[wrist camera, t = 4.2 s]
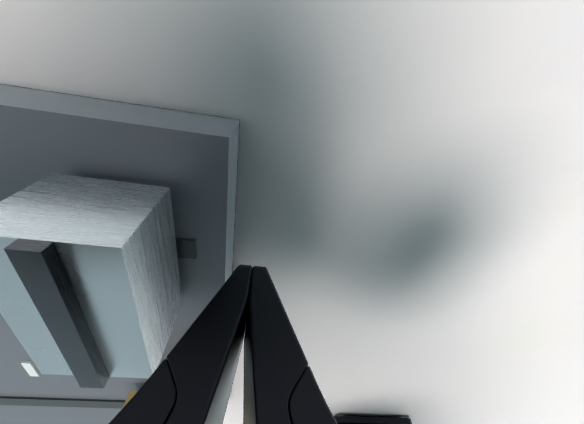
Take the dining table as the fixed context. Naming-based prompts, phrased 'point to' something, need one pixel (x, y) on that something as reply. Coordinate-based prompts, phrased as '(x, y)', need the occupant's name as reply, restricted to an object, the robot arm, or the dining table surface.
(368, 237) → the dining table surface
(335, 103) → the dining table surface
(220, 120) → the mixing board
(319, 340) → the dining table surface
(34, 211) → the block
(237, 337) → the robot arm
